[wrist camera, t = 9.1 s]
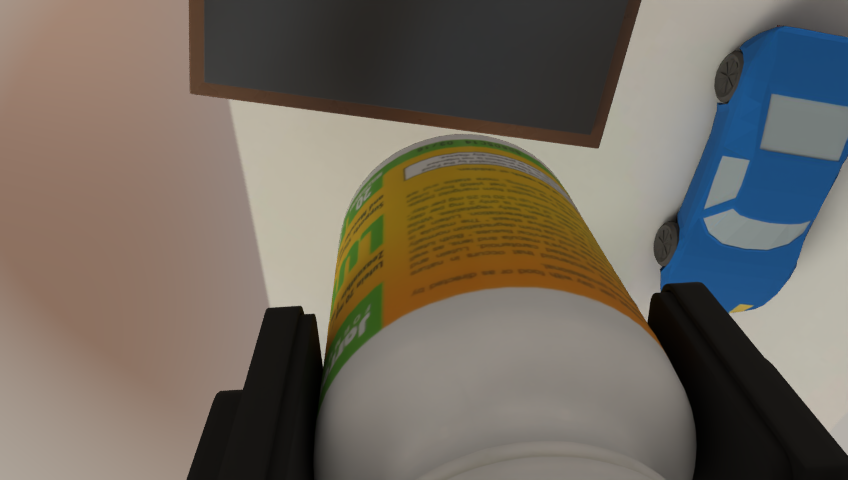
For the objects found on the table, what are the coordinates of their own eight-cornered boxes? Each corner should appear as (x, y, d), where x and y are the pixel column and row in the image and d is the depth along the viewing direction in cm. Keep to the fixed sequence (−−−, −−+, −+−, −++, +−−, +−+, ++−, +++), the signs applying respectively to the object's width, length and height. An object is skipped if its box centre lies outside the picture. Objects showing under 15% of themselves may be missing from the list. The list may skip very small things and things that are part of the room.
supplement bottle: (342, 120, 14) (272, 491, 5) (592, 134, 14) (909, 498, 6) (338, 331, 16) (287, 819, 8) (551, 337, 17) (729, 806, 8)
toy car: (632, 289, 50) (655, 327, 46) (735, 11, 41) (777, 26, 36) (747, 304, 51) (781, 343, 47) (872, 37, 42) (929, 53, 37)
